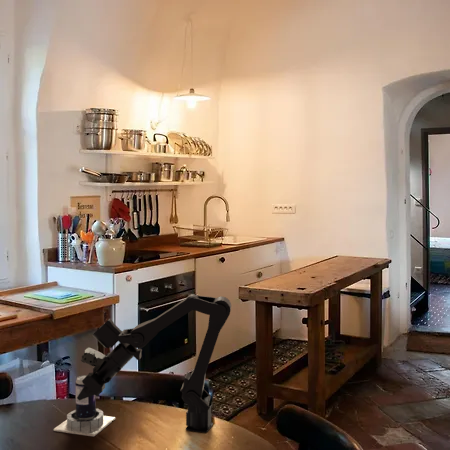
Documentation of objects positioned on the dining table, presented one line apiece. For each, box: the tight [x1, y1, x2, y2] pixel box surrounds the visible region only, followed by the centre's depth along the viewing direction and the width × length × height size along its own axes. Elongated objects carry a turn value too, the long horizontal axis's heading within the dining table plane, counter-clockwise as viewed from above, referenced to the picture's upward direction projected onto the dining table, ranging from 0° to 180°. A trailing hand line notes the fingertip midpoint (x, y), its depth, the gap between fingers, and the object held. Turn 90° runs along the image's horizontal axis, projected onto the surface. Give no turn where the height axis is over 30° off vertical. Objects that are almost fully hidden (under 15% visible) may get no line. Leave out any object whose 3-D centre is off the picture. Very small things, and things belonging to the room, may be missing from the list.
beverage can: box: [74, 374, 97, 420], centre depth 172 cm, size 6×6×12 cm
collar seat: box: [53, 408, 116, 437], centre depth 173 cm, size 13×13×3 cm
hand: (81, 395), depth 172 cm, fingers closed on beverage can, 6 cm apart
